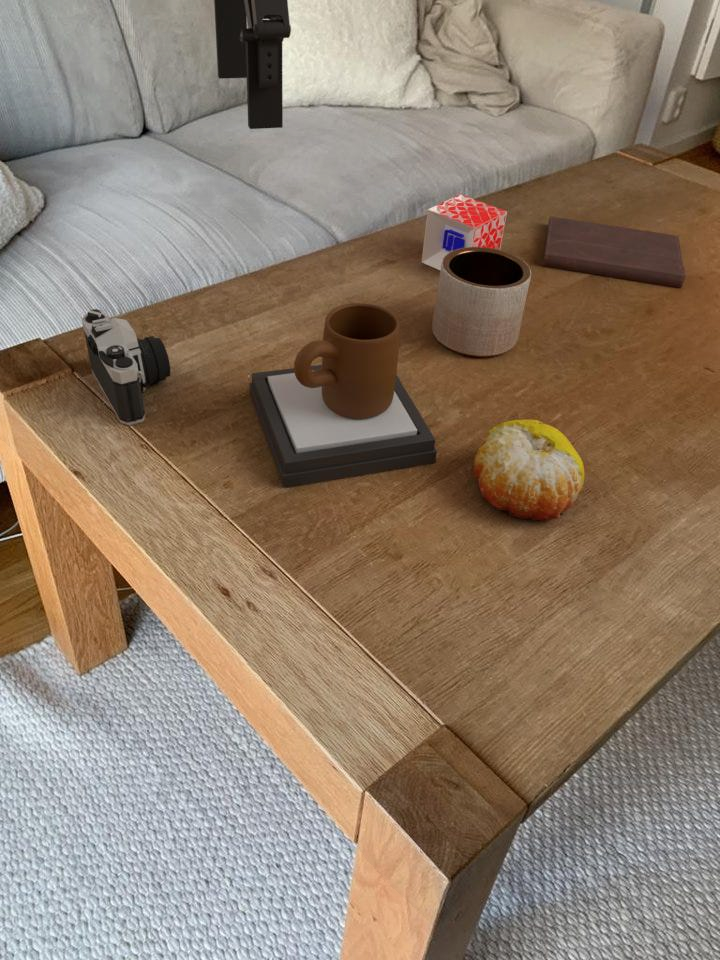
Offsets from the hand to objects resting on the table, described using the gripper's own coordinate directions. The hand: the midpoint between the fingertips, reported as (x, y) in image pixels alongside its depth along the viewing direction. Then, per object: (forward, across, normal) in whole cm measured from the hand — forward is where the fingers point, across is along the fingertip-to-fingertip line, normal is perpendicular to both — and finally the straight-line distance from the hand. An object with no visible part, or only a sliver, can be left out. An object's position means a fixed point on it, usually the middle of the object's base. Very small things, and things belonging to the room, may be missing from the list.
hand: (248, 100), depth 72 cm
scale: (+31, -9, -7) cm, 33 cm away
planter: (+31, +5, -29) cm, 43 cm away
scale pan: (+29, -9, -7) cm, 31 cm away
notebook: (+31, +22, -59) cm, 70 cm away
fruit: (+31, -23, -22) cm, 44 cm away
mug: (+28, -10, -7) cm, 30 cm away
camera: (+31, +3, +13) cm, 34 cm away
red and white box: (+31, +24, -35) cm, 52 cm away
